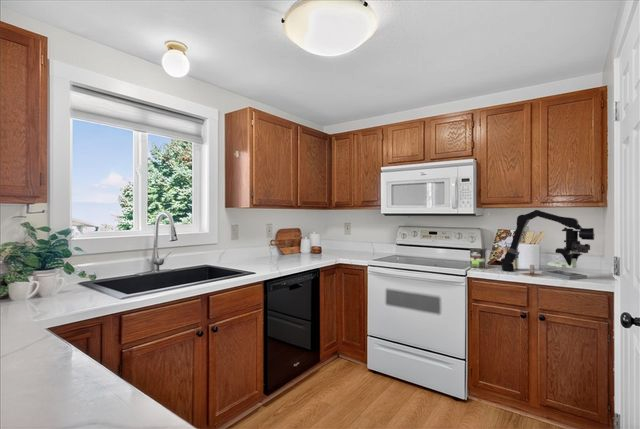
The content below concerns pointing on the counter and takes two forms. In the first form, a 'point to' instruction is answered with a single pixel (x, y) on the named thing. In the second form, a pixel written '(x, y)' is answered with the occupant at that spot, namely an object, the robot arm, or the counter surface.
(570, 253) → the robot arm
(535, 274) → the stake stand
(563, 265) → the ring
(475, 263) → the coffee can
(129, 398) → the counter surface
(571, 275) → the tray
